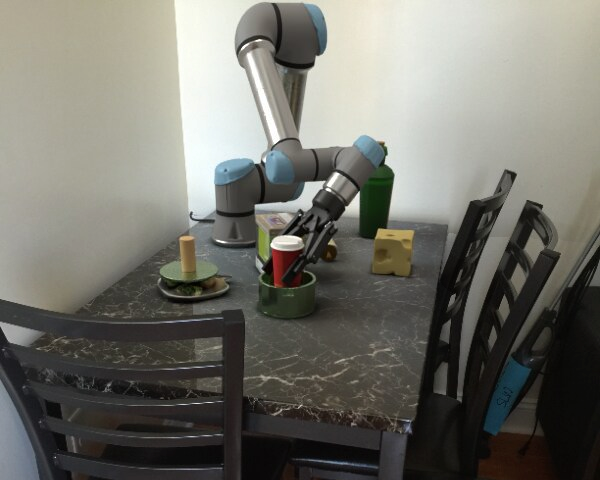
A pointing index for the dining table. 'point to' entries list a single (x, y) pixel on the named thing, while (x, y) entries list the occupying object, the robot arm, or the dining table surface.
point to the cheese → (393, 252)
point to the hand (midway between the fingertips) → (274, 277)
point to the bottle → (376, 199)
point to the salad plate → (193, 289)
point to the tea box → (269, 234)
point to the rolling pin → (330, 251)
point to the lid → (188, 265)
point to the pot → (287, 297)
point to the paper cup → (285, 257)
